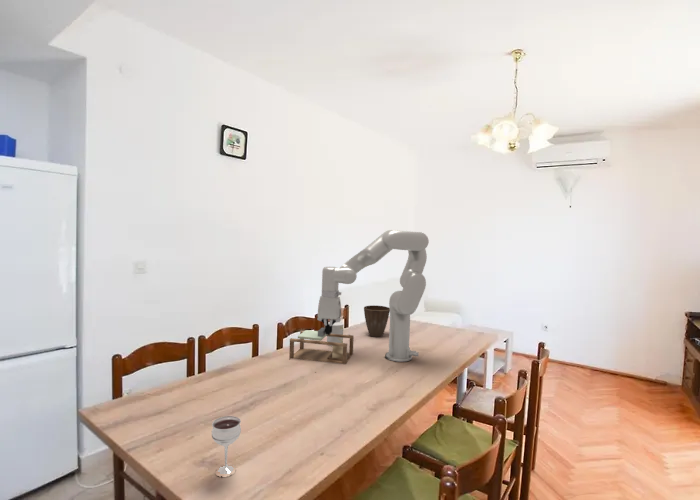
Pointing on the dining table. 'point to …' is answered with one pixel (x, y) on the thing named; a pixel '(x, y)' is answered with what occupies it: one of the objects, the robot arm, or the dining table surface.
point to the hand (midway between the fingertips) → (328, 333)
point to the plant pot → (376, 319)
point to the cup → (336, 329)
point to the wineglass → (226, 436)
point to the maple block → (337, 352)
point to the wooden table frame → (321, 354)
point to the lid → (313, 334)
